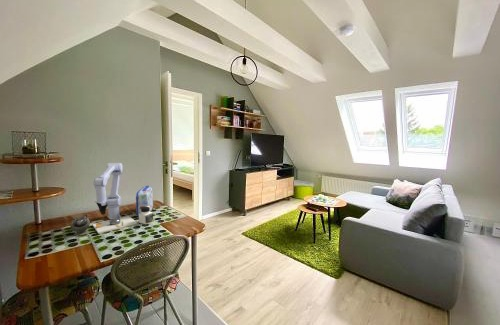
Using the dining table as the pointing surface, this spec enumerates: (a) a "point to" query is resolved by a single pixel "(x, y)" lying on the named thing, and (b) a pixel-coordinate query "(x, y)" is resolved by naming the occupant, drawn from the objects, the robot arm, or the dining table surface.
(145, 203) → the lunch box
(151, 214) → the medicine bottle
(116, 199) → the robot arm
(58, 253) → the dining table surface
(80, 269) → the dining table surface
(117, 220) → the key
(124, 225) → the board
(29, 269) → the dining table surface
